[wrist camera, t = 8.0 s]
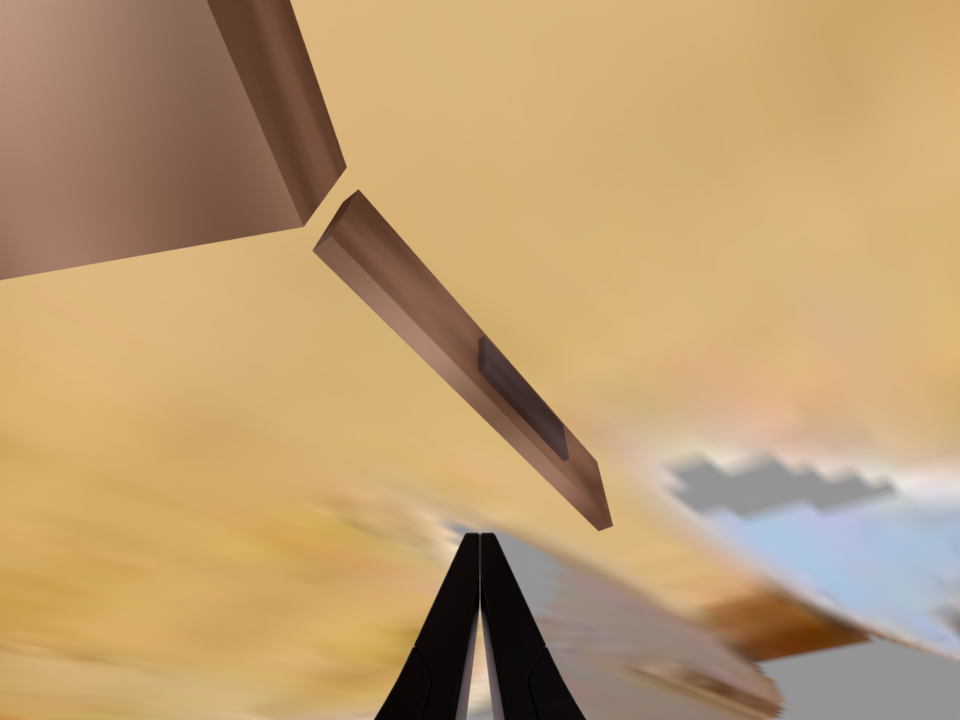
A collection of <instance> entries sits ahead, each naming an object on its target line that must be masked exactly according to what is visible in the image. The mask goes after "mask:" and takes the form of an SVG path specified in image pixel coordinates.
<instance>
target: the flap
mask: <svg viewBox="0 0 960 720" xmlns="http://www.w3.org/2000/svg"><path fill="white" fill-rule="evenodd" d="M312 251H313V252H314V253H315V254H316V255H317V256H318V257H319V258H320V259H321V260H322V261H323V262H324V263H325V264H326V265H327V266H328V267H329V268H330V269H331V270H332V271H333V272H334V273H335V274H336V275H337V276H338V277H339V278H340V279H341V280H342V281H344V282H345V283H346V284H347V285H348V286H349V287H350V288H351V289H352V290H353V291H354V292H355V293H356V294H357V295H358V296H359V297H360V298H361V299H362V300H363V301H364V302H365V303H366V304H367V305H368V306H369V307H370V308H371V309H372V310H373V311H374V312H375V313H376V314H377V315H378V316H379V317H380V318H381V319H382V320H383V321H384V322H385V323H386V324H387V325H388V326H389V327H390V328H391V329H392V330H394V331H395V332H396V333H397V334H398V335H399V336H400V337H401V338H402V339H403V340H404V341H405V342H406V343H407V344H408V345H409V346H410V347H411V348H412V349H413V350H414V351H415V352H416V353H417V354H418V355H419V356H420V357H421V358H422V359H423V360H424V361H425V362H426V363H427V364H428V365H429V366H430V367H431V368H432V369H433V370H434V371H435V372H436V373H437V374H438V375H439V376H440V377H441V378H443V379H444V380H445V381H446V382H447V383H448V384H449V385H450V386H451V387H452V388H453V389H454V390H455V391H456V392H457V393H458V394H459V395H460V396H461V397H462V398H463V399H464V400H465V401H466V402H467V403H468V404H469V405H470V406H471V407H472V408H473V409H474V410H475V411H476V412H477V413H478V414H479V415H480V416H481V417H482V418H483V419H484V420H485V421H486V422H487V423H488V424H489V425H490V426H491V427H493V428H494V429H495V430H496V431H497V432H498V433H499V434H500V435H501V436H502V437H503V438H504V439H505V440H506V441H507V442H508V443H509V444H510V445H511V446H512V447H513V448H514V449H515V450H516V451H517V452H518V453H519V454H520V455H521V456H522V457H523V458H524V459H525V460H526V461H527V462H528V463H529V464H530V465H531V466H532V467H533V468H534V469H535V470H536V471H537V472H538V473H539V474H540V475H541V476H543V477H544V478H545V479H546V480H547V481H548V482H549V483H550V484H551V485H552V486H553V487H554V488H555V489H556V490H557V491H558V492H559V493H560V494H561V495H562V496H563V497H564V498H565V499H566V500H567V501H568V502H569V503H570V504H571V505H572V506H573V507H574V508H575V509H576V510H577V511H578V512H579V513H580V514H581V515H582V516H583V517H584V518H585V519H586V520H587V521H588V522H589V523H590V524H592V525H593V526H594V527H595V528H596V529H597V530H598V531H601V530H604V529H607V528H610V527H612V526H613V523H612V519H611V515H610V511H609V507H608V503H607V499H606V495H605V491H604V487H603V483H602V479H601V475H600V471H599V467H598V462H597V461H596V460H595V458H594V457H593V456H592V455H591V454H590V453H589V452H588V451H587V449H586V448H585V447H584V446H583V445H582V444H581V443H580V441H579V440H578V439H577V438H576V437H575V436H574V435H573V433H572V432H571V431H570V430H569V429H568V428H567V427H566V425H565V424H564V423H563V422H562V421H561V420H560V419H559V417H558V416H557V415H556V414H555V413H554V412H553V411H552V409H551V408H550V407H549V406H548V405H547V404H546V403H545V401H544V400H543V399H542V398H541V397H540V396H539V395H538V393H537V392H536V391H535V390H534V389H533V388H532V387H531V385H530V384H529V383H528V382H527V381H526V380H525V379H524V377H523V376H522V375H521V374H520V373H519V372H518V371H517V369H516V368H515V367H514V366H513V365H512V364H511V363H510V361H509V360H508V359H507V358H506V357H505V356H504V355H503V353H502V352H501V351H500V350H499V349H498V348H497V347H496V345H495V344H494V343H493V342H492V341H491V340H490V339H489V337H488V336H487V335H486V334H485V333H484V332H483V331H482V329H481V328H480V327H479V326H478V325H477V324H476V323H475V321H474V320H473V319H472V318H471V317H470V316H469V315H468V313H467V312H466V311H465V310H464V309H463V308H462V307H461V305H460V304H459V303H458V302H457V301H456V300H455V299H454V297H453V296H452V295H451V294H450V293H449V292H448V291H447V289H446V288H445V287H444V286H443V285H442V284H441V283H440V281H439V280H438V279H437V278H436V277H435V276H434V275H433V273H432V272H431V271H430V270H429V269H428V268H427V267H426V265H425V264H424V263H423V262H422V261H421V260H420V259H419V257H418V256H417V255H416V254H415V253H414V252H413V251H412V249H411V248H410V247H409V246H408V245H407V244H406V243H405V241H404V240H403V239H402V238H401V237H400V236H399V235H398V233H397V232H396V231H395V230H394V229H393V228H392V227H391V225H390V224H389V223H388V222H387V221H386V220H385V219H384V217H383V216H382V215H381V214H380V213H379V212H378V211H377V209H376V208H375V207H374V206H373V205H372V204H371V203H370V201H369V200H368V199H367V198H366V197H365V196H364V195H363V193H362V192H361V191H360V190H359V189H358V190H357V191H356V192H354V193H353V194H352V195H351V196H350V197H348V198H347V199H346V200H345V201H343V203H342V204H341V206H340V207H339V209H338V210H337V212H336V214H335V215H334V217H333V218H332V220H331V222H330V223H329V225H328V226H327V228H326V230H325V231H324V233H323V234H322V236H321V238H320V239H319V241H318V242H317V244H316V246H315V247H314V249H313V250H312Z"/></svg>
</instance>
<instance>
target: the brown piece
mask: <svg viewBox="0 0 960 720" xmlns="http://www.w3.org/2000/svg"><path fill="white" fill-rule="evenodd" d="M346 168H347V166H346V163H345V160H344V157H343V154H342V151H341V148H340V145H339V142H338V139H337V136H336V134H335V131H334V128H333V125H332V122H331V119H330V116H329V113H328V110H327V107H326V104H325V101H324V98H323V95H322V92H321V89H320V87H319V84H318V81H317V78H316V75H315V72H314V69H313V66H312V63H311V60H310V57H309V54H308V51H307V48H306V45H305V43H304V40H303V37H302V34H301V31H300V28H299V25H298V22H297V19H296V16H295V13H294V10H293V7H292V4H291V1H290V0H0V280H5V279H11V278H16V277H22V276H28V275H34V274H39V273H45V272H51V271H56V270H62V269H68V268H73V267H79V266H85V265H90V264H96V263H102V262H107V261H113V260H119V259H125V258H130V257H136V256H142V255H147V254H153V253H159V252H164V251H170V250H176V249H181V248H187V247H193V246H198V245H204V244H210V243H216V242H221V241H227V240H233V239H238V238H244V237H250V236H255V235H261V234H267V233H272V232H278V231H284V230H289V229H295V228H301V227H304V226H305V225H306V223H307V222H308V221H309V219H310V218H311V216H312V215H313V214H314V212H315V211H316V209H317V208H318V207H319V205H320V204H321V203H322V201H323V200H324V198H325V197H326V196H327V194H328V193H329V191H330V190H331V189H332V187H333V186H334V185H335V183H336V182H337V180H338V179H339V178H340V176H341V175H342V173H343V172H344V171H345V169H346Z"/></svg>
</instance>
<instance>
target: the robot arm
mask: <svg viewBox="0 0 960 720" xmlns="http://www.w3.org/2000/svg"><path fill="white" fill-rule="evenodd" d="M479 610H481V620H482V628H483V636H484V645H485V653H486V661H487V669H488V677H489V686H490V694H491V702H492V710H493V718H494V720H586V718H585V717H584V715H583V713H582V712H581V710H580V708H579V707H578V705H577V703H576V702H575V700H574V698H573V696H572V695H571V693H570V691H569V689H568V688H567V686H566V684H565V682H564V680H563V678H562V676H561V674H560V672H559V670H558V668H557V666H556V664H555V662H554V660H553V658H552V656H551V654H550V652H549V649H548V648H547V647H546V644H545V641H544V639H543V637H542V635H541V633H540V630H539V628H538V626H537V624H536V622H535V620H534V617H533V615H532V613H531V611H530V609H529V607H528V604H527V602H526V600H525V598H524V596H523V593H522V591H521V589H520V587H519V585H518V583H517V580H516V578H515V576H514V574H513V572H512V569H511V567H510V565H509V563H508V561H507V559H506V556H505V554H504V552H503V550H502V548H501V546H500V543H499V541H498V539H497V537H496V535H495V534H494V533H481V534H479V533H466V534H465V535H464V537H463V539H462V541H461V543H460V546H459V548H458V550H457V552H456V554H455V556H454V559H453V561H452V563H451V565H450V567H449V569H448V572H447V574H446V576H445V578H444V580H443V583H442V585H441V587H440V589H439V591H438V593H437V596H436V598H435V600H434V602H433V604H432V607H431V609H430V611H429V613H428V615H427V617H426V620H425V622H424V624H423V626H422V628H421V630H420V633H419V635H418V637H417V639H416V641H415V644H414V647H413V648H412V649H411V652H410V654H409V656H408V658H407V660H406V662H405V664H404V666H403V668H402V670H401V672H400V674H399V676H398V678H397V680H396V682H395V684H394V686H393V688H392V689H391V691H390V693H389V695H388V696H387V698H386V700H385V702H384V703H383V705H382V707H381V708H380V710H379V712H378V713H377V715H376V717H375V718H374V720H466V718H467V710H468V702H469V694H470V686H471V677H472V669H473V661H474V653H475V645H476V636H477V628H478V620H479Z"/></svg>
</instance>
